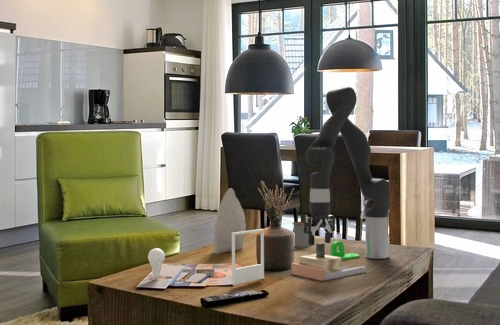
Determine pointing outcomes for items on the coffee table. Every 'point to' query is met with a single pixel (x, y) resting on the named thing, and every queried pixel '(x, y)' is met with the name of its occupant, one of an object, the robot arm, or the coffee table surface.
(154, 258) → the lightbulb
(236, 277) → the photo frame
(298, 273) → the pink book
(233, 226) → the rock
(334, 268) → the light wooden block
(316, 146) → the robot arm
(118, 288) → the coffee table surface
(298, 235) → the coffee pot
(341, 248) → the mechanical part
